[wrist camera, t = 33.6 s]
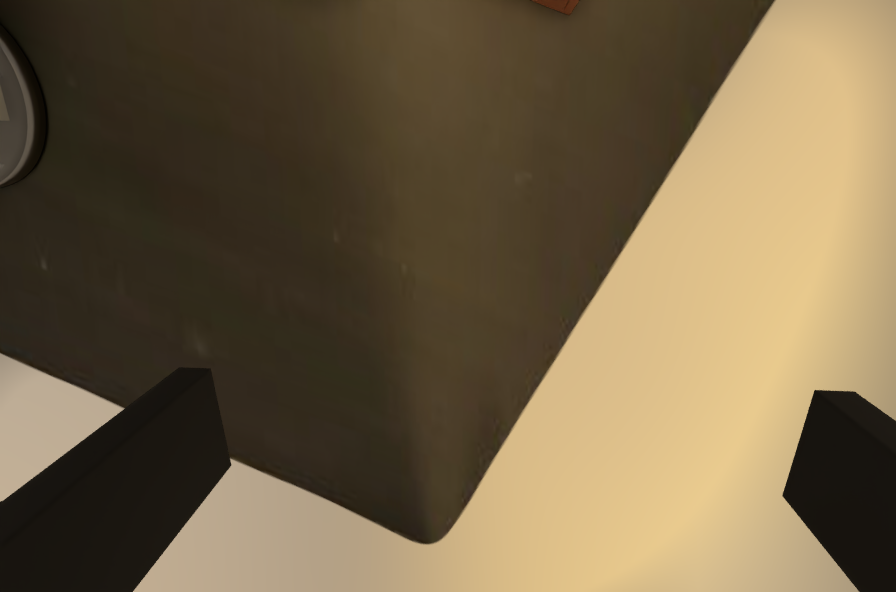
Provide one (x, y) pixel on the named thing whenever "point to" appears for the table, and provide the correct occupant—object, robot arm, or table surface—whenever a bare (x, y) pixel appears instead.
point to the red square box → (559, 5)
